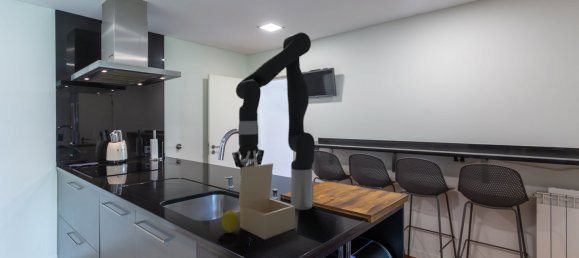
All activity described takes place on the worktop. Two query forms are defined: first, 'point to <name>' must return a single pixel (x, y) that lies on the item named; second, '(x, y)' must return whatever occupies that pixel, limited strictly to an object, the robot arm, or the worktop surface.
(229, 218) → the lemon
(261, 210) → the carton
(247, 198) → the lid
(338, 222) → the worktop surface
